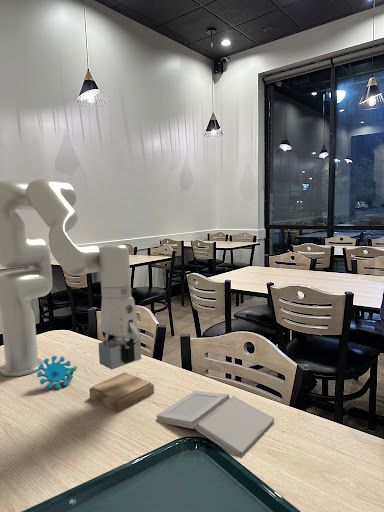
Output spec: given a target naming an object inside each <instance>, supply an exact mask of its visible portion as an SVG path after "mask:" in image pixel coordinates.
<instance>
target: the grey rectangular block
mask: <svg viewBox="0 0 384 512" xmlns="http://www.w3.org/2000/svg"><path fill="white" fill-rule="evenodd" d="M126 339H127V342H128V341H129V340H130V339H129V337H128V338H126ZM141 346H142V345H141V339H140V338H139V339H138V341H137V342H136V345H135V346H134V354H135V360H134V361H132V362H129V363H127V364H125V363H124V358H123V348H125V347H124V344H123V341H122V338H121V337H116V338H114V339H111V340H108V341H104V340H103V341H101V342H98V357H99V364H100V365H101V366H104V367H105V368H108V369H109V370H115V369H118V368H120V367H123V366H125V365H128V364H132V363H134V362H137V361H141V360H142V348H141Z"/></svg>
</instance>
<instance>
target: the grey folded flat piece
mask: <svg viewBox="0 0 384 512" xmlns="http://www.w3.org/2000/svg"><path fill="white" fill-rule="evenodd" d="M156 421H158V422H161V423H162V424H168V425H173V426H176V427H177V426H179V427H182V428H188V429H191V430H192V429H193V430H195V431H196V432H199V434H201V435H203V436H204V437H206V438H207V439H209V440H210V441H212V442H213V443H215V444H216V445H217V446H219V447H221V448H222V449H223V450H225V451H227V452H229V453H230V454H232V455H236V456H243V455H244V454H245V453H246V451H248V449H249V448H250V447H251V446H252V445H253V444H254V443H255V442H256V441H257V440H258V439H259V438H260V437H261V436H262V435H263V434H264V433H265V432H266V430H267V429H268V428H269V427H270V426H271V425H272V424H273V423H274V422H275V417H273V416H271V415H270V414H267V413H265V412H263V410H260V409H258V408H256V407H254V406H252V405H251V404H249V403H247V402H245V401H243V400H241V399H239V398H238V397H237V396H234V395H233V396H232V397H230V394H228V393H219V392H210V391H200V390H199V391H198V390H194V391H192V392H191V393H189V394H188V395H185V397H183V398H182V399H180V400H178V401H177V402H175V403H174V404H172V405H171V406H169V407H167V408H166V409H165V410H163V411H161V412H160V413H158V414H156Z"/></svg>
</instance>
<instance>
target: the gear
mask: <svg viewBox="0 0 384 512" xmlns="http://www.w3.org/2000/svg"><path fill="white" fill-rule="evenodd" d="M57 358H58V357H57V356H56V355H52V357H51V363H49V362H50V359H49V358H44V360H43V364H40V365H39V367H38V368H39V370H41V371H39V370H38V372H37V378H40V377H44V378H40V381H39V382H40V384H41V385H43V384H45V383H47V382H49V383H47V384H46V386H45V387H46V388H47V389H49V390H51V388H52V387H53V384H55V383H57V384H56V385H55V387H54V389H56V390H59V389H61V381H63V383H62V385H63V387H66V386H68V385H69V381H72V379H73V377H74V376H73V374H74V372H76V370H77V369H78V366H77V365H74V366H73V367H70V366H71V364H72V363H71V361H70V360H67V361H66V362H65V360H66V359H65V357H64V356H60V358H59V360H57ZM56 360H57V362H55V361H56ZM62 362H63V363H62ZM64 362H65V363H64ZM44 364H45V365H46V367H44ZM42 371H43V372H44V373H43V372H42ZM45 378H46V379H45Z"/></svg>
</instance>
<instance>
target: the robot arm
mask: <svg viewBox="0 0 384 512" xmlns="http://www.w3.org/2000/svg"><path fill="white" fill-rule="evenodd" d="M75 190H76V189H74V187H73V186H72V185H71V184H70V183H69V182H66V181H62V180H54V179H53V180H52V179H36V180H33V181H31V182H29V181H28V182H27V181H19V180H18V181H17V180H1V181H0V266H1V267H3V268H5V269H16V268H24V267H25V268H26V267H29V270H19V271H14V272H7V273H5V274H2V275H1V276H0V317H1V327H2V338H3V339H2V340H3V349H4V361H5V364H4V365H3V366H1V368H0V374H1V375H2V376H5V377H20V376H26V375H30V374H33V373H35V372H37V371H39V370H40V369H39V368H38V367H39V365H40V364H43V365H44V360H43V359H41V358H39V355H38V343H37V328H36V319H35V312H34V310H33V309H32V307H31V306H30V304H29V303H28V302H27V301H29V300H33V299H38V298H41V297H44V296H47V295H48V294H49V293H50V292H51V290H52V288H53V273H52V261H51V260H52V259H51V255H52V256H53V258H54V259H55V260H56V262H57V263H58V264H59V266H60V267H61V268H62V269H63V270H64V271H65V272H66V273H67V274H70V275H72V276H82V275H85V274H86V275H87V274H90V273H91V274H92V273H98V272H100V273H99V274H100V287H101V288H100V289H101V306H100V307H101V308H100V312H101V313H100V317H101V322H100V325H99V329H100V331H101V333H102V336H103V338H104V339H103V342H104V341H108V340H111V339H114V338H118V337H121V338H122V341H123V344H124V347H125V348H123V358H124V363H125V364H126V365H128V364H127V363H129V362H132V361H134V360H135V354H134V346H135V345H136V342H137V341H138V339H140V338H141V335H142V334H141V333H140V331H139V323H138V314H137V308H136V303H135V299H134V297H133V296H132V288H131V287H132V286H131V285H132V284H131V268H130V264H131V263H130V253H129V252H130V251H129V247H128V246H127V245H124V244H103V243H95V244H94V243H93V244H82V245H81V244H80V245H75V243H73V241H72V240H71V238H70V237H69V236H68V234H67V233H68V232H69V231H71V230H72V229H73V228H74V226H75V225H76V224H77V222H78V218H79V216H78V213H77V211H76V210H75V209H74V208H73V207H74V206H75V204H76V202H77V193H76V191H75ZM16 210H29V211H32V210H33V211H34V210H35V211H36V213H37V214H38V216H40V218H41V219H42V221H44V223H45V224H46V226H47V227H48V229H49V232H48V239H47V240H48V244H47V243H46V241H45V240H44V239H43V238H41V237H38V236H26V235H27V234H26V227H25V222H24V220H23V218H22V217H21V216H20V215H19V213H18V212H17V211H16ZM128 337H129V339H130V340H129V341H128V342H127V339H126V338H128ZM132 363H133V362H132ZM129 364H130V363H129Z"/></svg>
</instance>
